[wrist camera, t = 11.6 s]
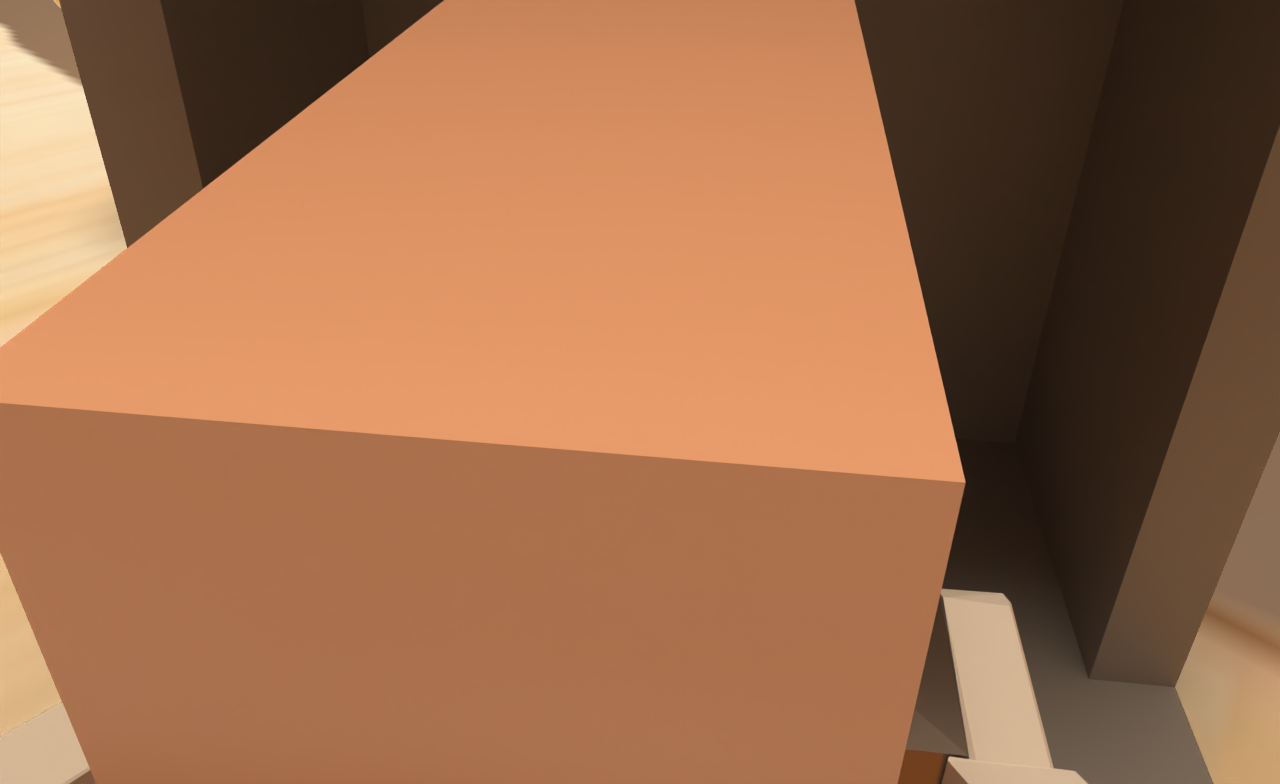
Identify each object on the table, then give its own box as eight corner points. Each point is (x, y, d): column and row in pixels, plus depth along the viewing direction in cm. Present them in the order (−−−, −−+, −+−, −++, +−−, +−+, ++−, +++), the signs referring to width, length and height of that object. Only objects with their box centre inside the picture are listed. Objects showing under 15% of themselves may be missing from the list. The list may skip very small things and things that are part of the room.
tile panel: (735, 1499, 8) (965, 480, 3) (364, 1435, 8) (-65, 395, 3) (763, 604, 17) (836, -82, 11) (577, 586, 17) (559, -91, 12)
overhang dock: (1288, 1072, 14) (2897, -1255, 4) (61, 915, 16) (-900, -1005, 6) (1056, 445, 27) (1320, -520, 17) (379, 394, 29) (246, -510, 19)
